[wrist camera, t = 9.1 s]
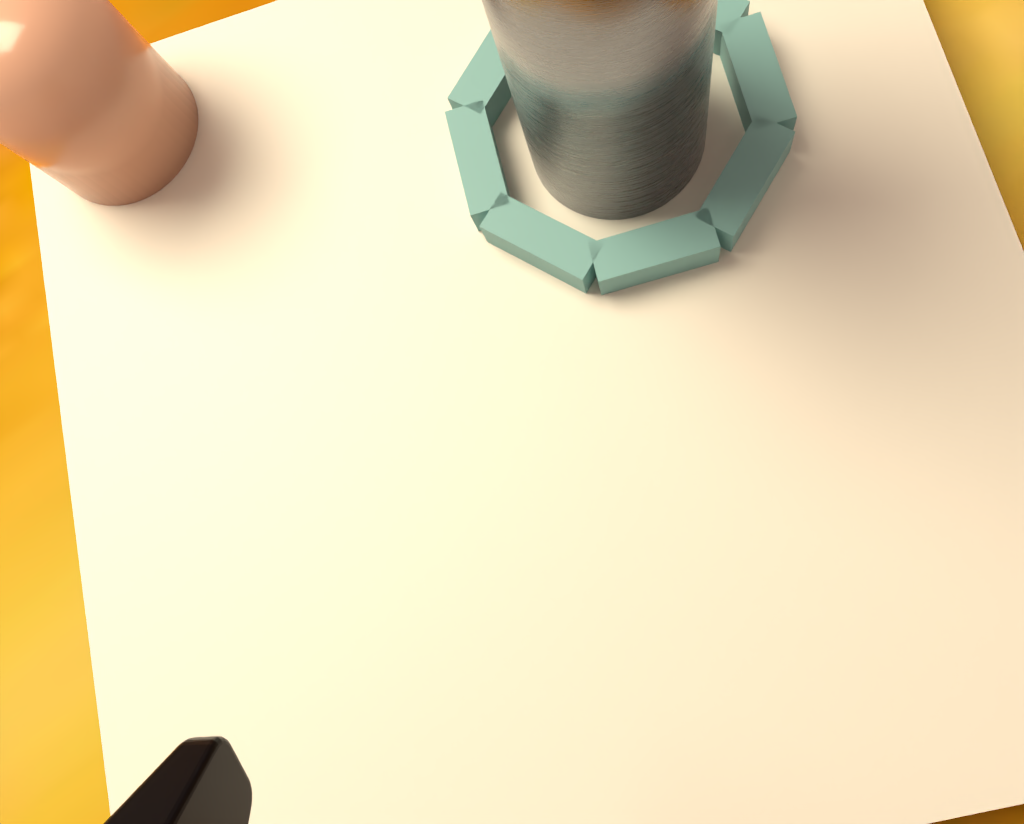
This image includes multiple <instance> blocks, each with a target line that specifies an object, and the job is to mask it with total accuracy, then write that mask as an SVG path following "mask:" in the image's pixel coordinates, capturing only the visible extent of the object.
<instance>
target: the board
mask: <svg viewBox="0 0 1024 824" xmlns="http://www.w3.org/2000/svg"><path fill="white" fill-rule="evenodd" d="M150 45H151V46H152V47H153V48H154V49H155V50H156V51H157V52H158V53H159V54H160V55H161V57H162V58H163V59H164V60H165V61H166V62H167V63H168V64H169V65H170V66H171V67H172V68H173V69H174V70H175V71H176V72H177V73H178V74H179V75H180V76H181V78H182V79H183V80H184V81H185V82H186V83H187V85H188V86H189V88H190V90H191V91H192V93H193V96H194V98H195V101H196V105H197V109H198V131H197V137H196V140H195V144H194V147H193V149H192V152H191V154H190V156H189V158H188V160H187V162H186V163H185V165H184V166H183V168H182V169H181V170H180V172H179V173H178V174H177V175H176V176H175V178H174V179H173V180H172V181H171V182H170V183H168V184H167V185H166V186H165V187H164V188H163V189H161V190H160V191H158V192H157V193H155V194H153V195H152V196H150V197H148V198H146V199H143V200H141V201H138V202H135V203H131V204H127V205H120V206H106V205H100V204H96V203H93V202H90V201H88V200H86V199H84V198H82V197H80V196H79V195H77V194H76V193H74V192H73V191H71V190H70V189H68V188H67V187H65V186H64V185H62V184H61V183H59V182H58V181H56V180H55V179H53V178H52V177H50V176H49V175H47V174H46V173H44V172H43V171H41V170H40V169H38V168H37V167H35V166H34V165H32V164H31V163H30V170H31V178H32V186H33V194H34V202H35V210H36V218H37V226H38V234H39V242H40V250H41V258H42V266H43V274H44V282H45V290H46V298H47V306H48V314H49V322H50V330H51V338H52V347H53V355H54V363H55V371H56V379H57V387H58V395H59V403H60V411H61V419H62V427H63V435H64V443H65V451H66V459H67V467H68V475H69V483H70V491H71V499H72V507H73V515H74V524H75V532H76V540H77V548H78V556H79V564H80V572H81V580H82V588H83V596H84V604H85V612H86V620H87V628H88V636H89V644H90V652H91V660H92V668H93V676H94V684H95V692H96V700H97V709H98V717H99V725H100V733H101V741H102V749H103V757H104V765H105V773H106V781H107V789H108V797H109V805H110V813H111V815H112V814H113V813H114V812H115V811H116V810H117V809H118V808H119V807H120V806H121V805H122V804H123V803H124V802H125V801H126V800H127V799H128V798H129V797H130V795H131V794H132V793H133V792H134V791H135V790H136V789H137V788H138V787H139V786H140V785H141V784H142V783H143V782H144V781H145V780H146V779H147V778H148V777H149V776H150V775H151V774H152V772H153V771H154V770H155V769H156V768H157V767H158V766H159V765H160V764H161V763H162V762H163V761H164V760H165V759H166V758H167V757H168V756H169V755H170V754H171V753H172V752H173V750H174V749H175V748H176V747H177V746H178V745H179V744H181V743H182V742H183V741H185V740H187V739H189V738H193V737H208V736H222V737H224V738H225V739H227V740H228V741H229V742H230V744H231V746H232V748H233V750H234V751H235V753H236V755H237V757H238V759H239V761H240V763H241V765H242V767H243V768H244V770H245V772H246V774H247V776H248V778H249V780H250V783H251V787H252V806H251V812H250V818H249V824H929V823H933V822H938V821H943V820H948V819H953V818H957V817H962V816H967V815H972V814H977V813H981V812H986V811H991V810H996V809H1001V808H1006V807H1010V806H1015V805H1020V804H1024V251H1023V249H1022V246H1021V244H1020V241H1019V239H1018V236H1017V234H1016V231H1015V229H1014V226H1013V224H1012V221H1011V219H1010V216H1009V214H1008V211H1007V209H1006V206H1005V204H1004V201H1003V199H1002V196H1001V194H1000V191H999V189H998V186H997V184H996V181H995V179H994V176H993V174H992V171H991V169H990V166H989V164H988V161H987V159H986V156H985V154H984V151H983V149H982V146H981V144H980V141H979V139H978V136H977V134H976V131H975V129H974V126H973V124H972V121H971V119H970V116H969V114H968V111H967V109H966V106H965V104H964V101H963V99H962V96H961V94H960V91H959V89H958V86H957V84H956V81H955V79H954V76H953V74H952V71H951V69H950V66H949V64H948V61H947V59H946V56H945V54H944V51H943V49H942V46H941V44H940V41H939V39H938V36H937V34H936V31H935V29H934V26H933V24H932V21H931V19H930V16H929V14H928V11H927V9H926V6H925V4H924V1H923V0H718V4H717V16H716V27H715V39H714V50H713V62H712V73H711V85H710V96H709V108H708V119H707V131H706V141H705V148H704V152H703V156H702V159H701V162H700V164H699V166H698V169H697V171H696V172H695V174H694V176H693V177H692V179H691V180H690V182H689V183H688V184H687V185H686V187H685V188H684V189H683V190H682V191H681V192H680V193H679V194H678V195H677V196H676V197H675V198H673V199H672V200H670V201H669V202H668V203H666V204H665V205H663V206H661V207H660V208H658V209H656V210H654V211H652V212H649V213H647V214H644V215H641V216H637V217H634V218H628V219H621V220H605V219H596V218H592V217H588V216H585V215H582V214H579V213H576V212H574V211H572V210H571V209H569V208H567V207H565V206H564V205H562V204H561V203H560V202H558V201H557V200H556V199H555V198H554V197H553V196H552V195H551V194H550V193H549V192H548V191H547V190H546V188H545V187H544V186H543V184H542V182H541V181H540V179H539V177H538V175H537V173H536V170H535V168H534V165H533V162H532V159H531V155H530V152H529V149H528V146H527V143H526V140H525V136H524V133H523V130H522V127H521V124H520V120H519V117H518V114H517V111H516V108H515V105H514V101H513V98H512V95H511V92H510V89H509V86H508V82H507V79H506V76H505V73H504V70H503V67H502V63H501V60H500V57H499V54H498V51H497V47H496V44H495V41H494V38H493V35H492V32H491V28H490V25H489V22H488V19H487V16H486V13H485V9H484V6H483V3H482V0H278V1H275V2H272V3H269V4H266V5H263V6H260V7H257V8H254V9H251V10H248V11H245V12H242V13H239V14H236V15H234V16H231V17H228V18H225V19H222V20H219V21H216V22H213V23H210V24H207V25H204V26H201V27H198V28H195V29H192V30H189V31H187V32H184V33H181V34H178V35H175V36H172V37H169V38H166V39H163V40H160V41H157V42H154V43H151V44H150Z"/></svg>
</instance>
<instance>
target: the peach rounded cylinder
mask: <svg viewBox="0 0 1024 824" xmlns="http://www.w3.org/2000/svg"><path fill="white" fill-rule="evenodd" d="M197 131H198V109H197V105H196V101H195V98H194V96H193V93H192V91H191V90H190V88H189V86H188V85H187V83H186V82H185V81H184V80H183V79H182V78H181V76H180V75H179V74H178V73H177V72H176V71H175V70H174V69H173V68H172V67H171V66H170V65H169V64H168V63H167V62H166V61H165V60H164V59H163V58H162V57H161V55H160V54H159V53H158V52H157V51H156V50H155V49H154V48H153V47H152V46H151V45H150V44H149V43H148V42H147V41H146V40H145V39H144V38H143V37H142V36H141V34H140V33H139V32H138V31H137V30H136V29H135V28H134V27H133V26H132V25H131V24H130V23H129V22H128V21H127V20H126V19H125V18H124V17H123V16H122V14H121V13H120V12H119V11H118V10H117V9H116V8H115V7H114V6H113V5H112V4H111V3H110V2H109V1H108V0H0V143H1V144H2V145H4V146H5V147H7V148H8V149H10V150H11V151H13V152H14V153H16V154H17V155H19V156H20V157H22V158H23V159H25V160H26V161H28V162H29V163H31V164H32V165H34V166H35V167H37V168H38V169H40V170H41V171H43V172H44V173H46V174H47V175H49V176H50V177H52V178H53V179H55V180H56V181H58V182H59V183H61V184H62V185H64V186H65V187H67V188H68V189H70V190H71V191H73V192H74V193H76V194H77V195H79V196H80V197H82V198H84V199H86V200H88V201H90V202H93V203H96V204H100V205H106V206H120V205H127V204H131V203H135V202H138V201H141V200H143V199H146V198H148V197H150V196H152V195H153V194H155V193H157V192H158V191H160V190H161V189H163V188H164V187H165V186H166V185H167V184H168V183H170V182H171V181H172V180H173V179H174V178H175V176H176V175H177V174H178V173H179V172H180V170H181V169H182V168H183V166H184V165H185V163H186V162H187V160H188V158H189V156H190V154H191V152H192V149H193V147H194V144H195V140H196V137H197Z"/></svg>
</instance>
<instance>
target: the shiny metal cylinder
mask: <svg viewBox="0 0 1024 824" xmlns="http://www.w3.org/2000/svg"><path fill="white" fill-rule="evenodd" d="M482 3H483V6H484V9H485V13H486V16H487V19H488V22H489V25H490V28H491V32H492V35H493V38H494V41H495V44H496V47H497V51H498V54H499V57H500V60H501V63H502V67H503V70H504V73H505V76H506V79H507V82H508V86H509V89H510V92H511V95H512V98H513V101H514V105H515V108H516V111H517V114H518V117H519V120H520V124H521V127H522V130H523V133H524V136H525V140H526V143H527V146H528V149H529V152H530V155H531V159H532V162H533V165H534V168H535V170H536V173H537V175H538V177H539V179H540V181H541V182H542V184H543V186H544V187H545V188H546V190H547V191H548V192H549V193H550V194H551V195H552V196H553V197H554V198H555V199H556V200H557V201H558V202H560V203H561V204H562V205H564V206H565V207H567V208H569V209H571V210H572V211H574V212H576V213H579V214H582V215H585V216H588V217H592V218H596V219H605V220H621V219H628V218H634V217H637V216H641V215H644V214H647V213H649V212H652V211H654V210H656V209H658V208H660V207H661V206H663V205H665V204H666V203H668V202H669V201H670V200H672V199H673V198H675V197H676V196H677V195H678V194H679V193H680V192H681V191H682V190H683V189H684V188H685V187H686V185H687V184H688V183H689V182H690V180H691V179H692V177H693V176H694V174H695V172H696V171H697V169H698V166H699V164H700V162H701V159H702V156H703V152H704V148H705V141H706V131H707V119H708V108H709V96H710V85H711V73H712V62H713V50H714V39H715V27H716V16H717V4H718V0H482Z"/></svg>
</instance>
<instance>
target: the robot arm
mask: <svg viewBox="0 0 1024 824" xmlns="http://www.w3.org/2000/svg"><path fill="white" fill-rule="evenodd" d="M251 806H252V787H251V783H250V780H249V778H248V776H247V774H246V772H245V770H244V768H243V767H242V765H241V763H240V761H239V759H238V757H237V755H236V753H235V751H234V750H233V748H232V746H231V744H230V742H229V741H228V740H227V739H225V738H224V737H222V736H208V737H193V738H189V739H187V740H185V741H183V742H182V743H181V744H179V745H178V746H177V747H176V748H175V749H174V750H173V752H172V753H171V754H170V755H169V756H168V757H167V758H166V759H165V760H164V761H163V762H162V763H161V764H160V765H159V766H158V767H157V768H156V769H155V770H154V771H153V772H152V774H151V775H150V776H149V777H148V778H147V779H146V780H145V781H144V782H143V783H142V784H141V785H140V786H139V787H138V788H137V789H136V790H135V791H134V792H133V793H132V794H131V795H130V797H129V798H128V799H127V800H126V801H125V802H124V803H123V804H122V805H121V806H120V807H119V808H118V809H117V810H116V811H115V812H114V813H113V814H112V815H111V816H110V817H109V818H108V820H107V821H106V822H105V823H104V824H249V818H250V812H251Z"/></svg>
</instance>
